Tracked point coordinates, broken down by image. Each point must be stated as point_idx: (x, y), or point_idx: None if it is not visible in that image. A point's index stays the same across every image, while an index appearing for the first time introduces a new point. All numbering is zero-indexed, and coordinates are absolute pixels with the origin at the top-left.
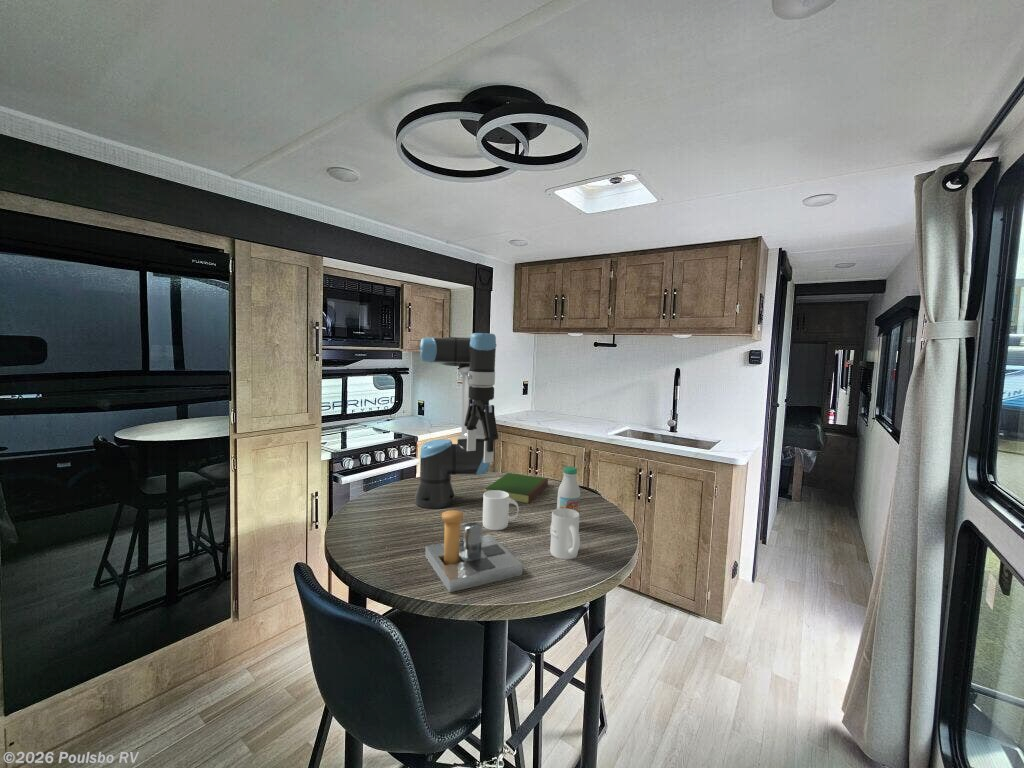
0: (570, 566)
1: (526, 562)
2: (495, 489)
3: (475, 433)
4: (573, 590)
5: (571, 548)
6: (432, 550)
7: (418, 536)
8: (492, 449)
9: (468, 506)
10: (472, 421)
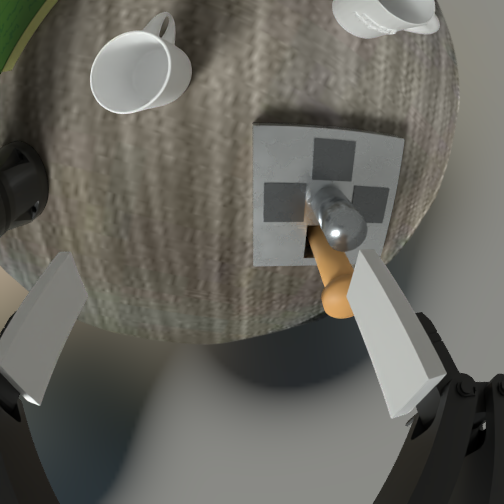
0: (407, 44)
1: (362, 98)
2: (10, 51)
3: (14, 345)
4: (456, 100)
5: (413, 30)
6: (276, 260)
7: (167, 245)
8: (430, 330)
9: (46, 115)
10: (40, 482)
